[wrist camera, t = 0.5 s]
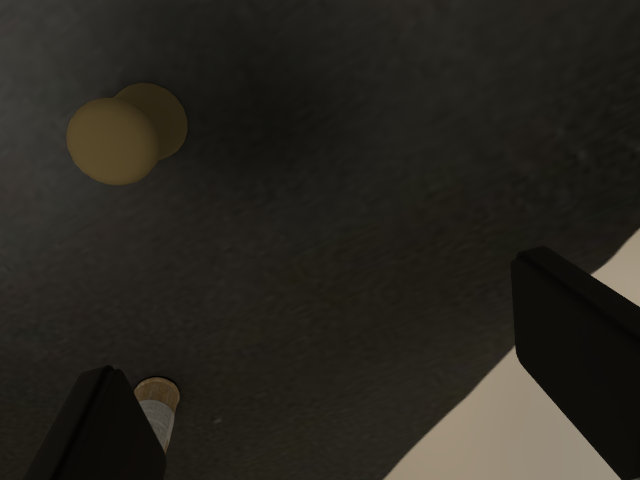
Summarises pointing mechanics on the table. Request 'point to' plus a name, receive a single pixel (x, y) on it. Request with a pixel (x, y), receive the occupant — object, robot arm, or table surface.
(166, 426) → the sprinkles bottle
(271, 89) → the table surface
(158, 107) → the cork
